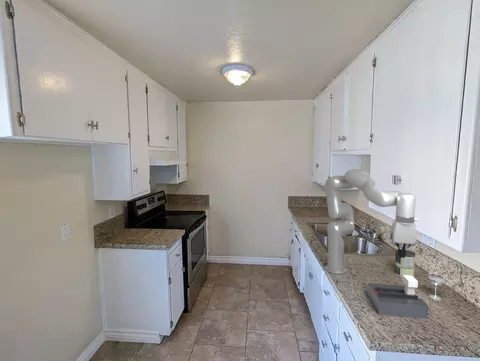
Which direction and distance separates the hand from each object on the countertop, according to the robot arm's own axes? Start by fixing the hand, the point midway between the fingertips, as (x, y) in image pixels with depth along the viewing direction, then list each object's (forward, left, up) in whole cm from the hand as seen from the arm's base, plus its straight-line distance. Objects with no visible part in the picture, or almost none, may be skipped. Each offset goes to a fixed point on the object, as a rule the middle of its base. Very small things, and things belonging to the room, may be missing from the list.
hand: (401, 256), depth 126 cm
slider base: (+2, -3, -24) cm, 24 cm away
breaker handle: (+2, +3, -18) cm, 18 cm away
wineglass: (-9, +20, -24) cm, 33 cm away
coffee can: (-35, +16, -24) cm, 46 cm away
